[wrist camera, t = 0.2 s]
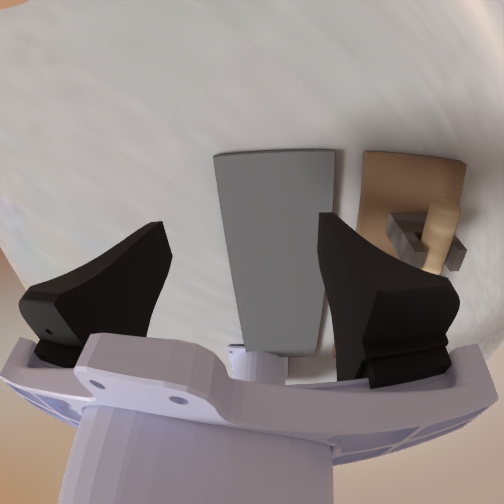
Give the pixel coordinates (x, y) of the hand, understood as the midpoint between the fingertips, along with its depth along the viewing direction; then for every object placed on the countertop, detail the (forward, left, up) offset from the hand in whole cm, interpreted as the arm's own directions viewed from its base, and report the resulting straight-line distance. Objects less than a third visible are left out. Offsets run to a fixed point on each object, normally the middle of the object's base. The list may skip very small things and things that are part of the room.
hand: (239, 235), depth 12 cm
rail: (-12, -14, -6) cm, 19 cm away
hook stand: (-12, -14, -10) cm, 20 cm away
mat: (-12, -2, -10) cm, 15 cm away
